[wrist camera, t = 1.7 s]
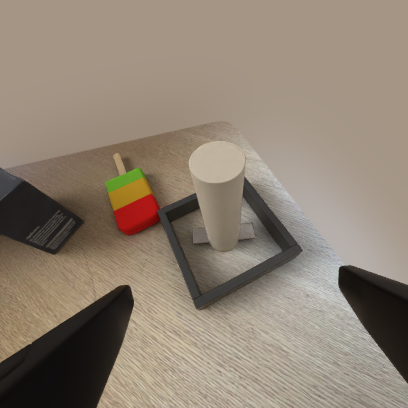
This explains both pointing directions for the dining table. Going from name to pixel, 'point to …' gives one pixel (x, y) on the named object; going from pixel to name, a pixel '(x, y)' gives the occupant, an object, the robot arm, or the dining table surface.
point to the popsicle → (132, 200)
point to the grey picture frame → (202, 301)
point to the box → (33, 215)
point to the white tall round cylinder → (220, 194)
